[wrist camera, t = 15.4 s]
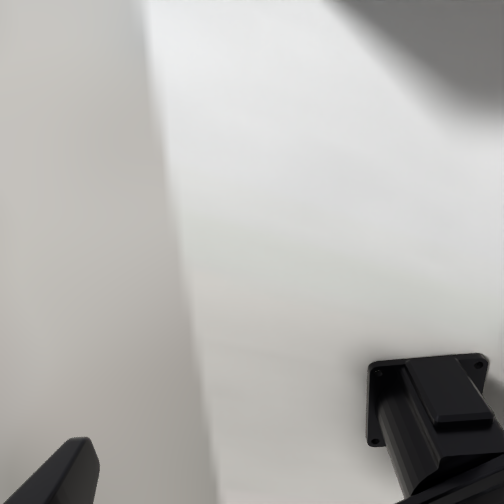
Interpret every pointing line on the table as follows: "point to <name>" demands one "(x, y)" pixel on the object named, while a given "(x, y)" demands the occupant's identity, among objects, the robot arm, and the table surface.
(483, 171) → the table surface
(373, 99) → the table surface
